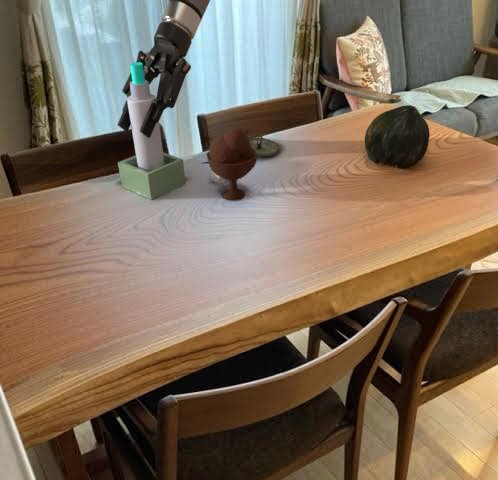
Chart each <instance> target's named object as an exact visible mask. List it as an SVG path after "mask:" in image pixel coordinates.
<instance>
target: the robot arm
mask: <svg viewBox="0 0 498 480" xmlns="http://www.w3.org/2000/svg"><path fill="white" fill-rule="evenodd" d="M210 2H211V0H169V1H168V3H167V6H166V7H165V10H164V12H163V14H162V16H161V19H160V20H161V21H160V23H159V24H158V26H157V28H156V31H155V34H154V35H153V44H154V45H153V46H152V48H150V50H149V52H144V51H143V50H139V51H138V53H137V57H136V61H135V62H140V63H142V64H143V71H144V77H145V80H147V81H148V83H149V86H150V85H151V83H152V82H153V81H154V79H157V78H158V77H159V81H158V86H157V92H156V96H155V97H156V99H155V100H154V102H156V103H157V104H155V103H152V104H151V106H150V108H149V110H148V113H147V115H146V117H145V120H144V122H143V124H142V126H141V129H140V132H141V133H143V134H144V135H145V136H146V137H148V138H150V136H151V134H152V132H153V129H154V127H155V125H156V122H157V123H158V122H159V123H160V120H161V118H162V115H163V113H164V111H165V110H166V109H168V108H170V109H173V108H174V107H175V106H176V104H177V103H176V102H177V100H178V98H179V95H180V93H181V90H182V87H183V85H184V82H185V79H186V76H187V75H188V73H189V72H190V70H191V69H192V65H191V64H190V63H189V62H188V61H187V60H186V58H185V57H187V55H188V52H189V50H190V49H191V45H192V43H193V42H192V40H194V38H195V36H196V34H197V31H198V29H199V27H200V24H201V22H202V19H203V17H204V15H205V13H206V11H207V9H208V6H209V4H210ZM131 81H132V74H131V72H130V73H129V76H128V77H127V80H126V81H125V83H124V85H123V88H122V89H121V91H122V93H123V94H124V95H125V96H126V100H125V102H124V105H123V106H122V111H121V112H122V113H121V115H120V118H119V119H118V122H117V124H116V125H117V126H118V127H119V128H120V129H122V130H123V131H124V132H127V133H128V132H129V130H130V127H131V121H130V115H129V109H128V103H127V98H128V97H129V96H131V90H130V82H131Z"/></svg>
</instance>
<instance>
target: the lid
mask: <svg viewBox="0 0 498 480" xmlns="http://www.w3.org/2000/svg"><path fill="white" fill-rule="evenodd" d="M248 138H249V142H250V145H251V147H252V149H255V152H256V154H257V158H272V157H274V156H276V155H278V154H279V152H280V150H281V146H280V145H279V143H277V142H276V141H273V140H272V139H268V138H264V136H263V135H262V134H260V135H258V136H257V137H254V136H253V137H248Z"/></svg>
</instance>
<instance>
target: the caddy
mask: <svg viewBox="0 0 498 480" xmlns="http://www.w3.org/2000/svg"><path fill="white" fill-rule="evenodd" d="M163 156H164V166H161V167H159V168H157V169H154V170H152V171H150V172H147V171H144V170H142V169H139V168H138V163H137V157H136V154H135V155H133V156H130V157H128V158H125V159H123V160H120V161H118V162H117V166H118V171H119V177H120V182H121V187H122V188H124V189H126V190H128V191H130V192H133V193H134V194H137V195H140V196H142V197H144V198H146V199H148V200H151V201H152V200H155V199H157V198H159V197H161V196H163V195H165V194H167V193H169V192H172V191H173V190H176V189H178V188H180V187H182V186H183V185H186V184H187V183H186V176H185V163H184V159H183V158H180V157H178V156H175V155H173V154H172V155H171V154H169V153H167V152H164V151H163Z"/></svg>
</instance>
